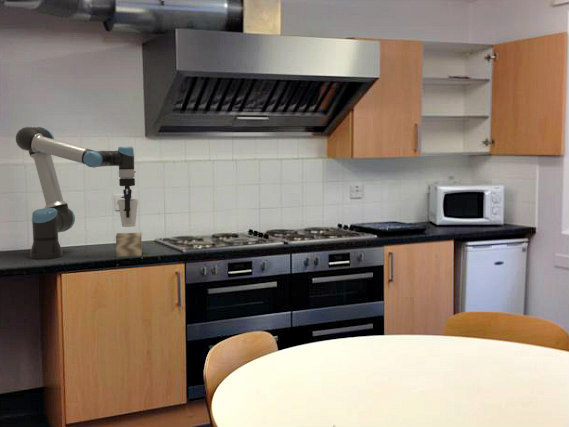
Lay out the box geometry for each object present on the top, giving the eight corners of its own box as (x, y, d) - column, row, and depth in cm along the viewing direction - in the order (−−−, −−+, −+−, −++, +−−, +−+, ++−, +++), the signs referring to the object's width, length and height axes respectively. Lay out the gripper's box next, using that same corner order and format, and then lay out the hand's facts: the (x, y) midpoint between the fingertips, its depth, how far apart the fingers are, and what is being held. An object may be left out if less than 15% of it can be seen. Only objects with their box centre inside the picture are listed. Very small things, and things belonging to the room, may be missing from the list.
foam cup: (138, 224, 368) (138, 199, 366) (137, 226, 358) (137, 200, 357) (119, 225, 366) (118, 199, 365) (118, 227, 357) (117, 201, 356)
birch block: (116, 256, 357) (115, 236, 356) (117, 252, 369) (117, 233, 368) (141, 255, 359) (140, 235, 358) (141, 252, 371) (141, 232, 370)
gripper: (134, 178, 350) (135, 225, 352) (135, 176, 371) (136, 220, 374) (118, 179, 349) (119, 225, 351) (120, 177, 370) (121, 221, 372)
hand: (128, 223), depth 362 cm, fingers closed on foam cup, 9 cm apart
